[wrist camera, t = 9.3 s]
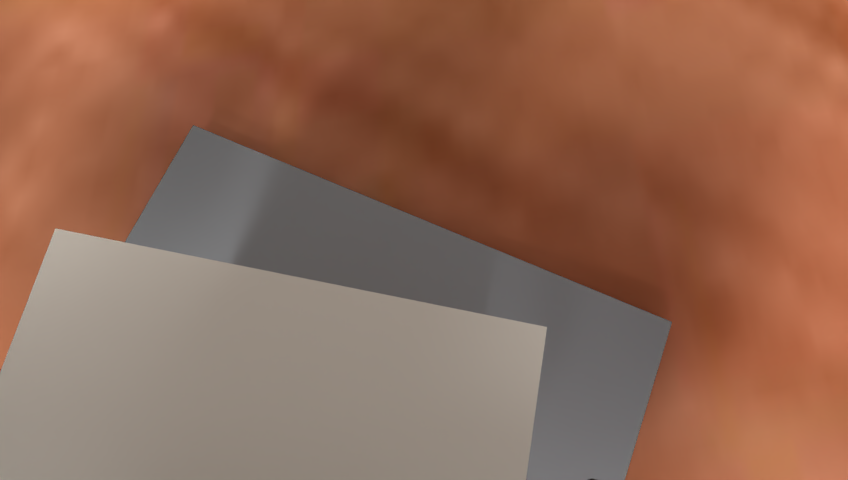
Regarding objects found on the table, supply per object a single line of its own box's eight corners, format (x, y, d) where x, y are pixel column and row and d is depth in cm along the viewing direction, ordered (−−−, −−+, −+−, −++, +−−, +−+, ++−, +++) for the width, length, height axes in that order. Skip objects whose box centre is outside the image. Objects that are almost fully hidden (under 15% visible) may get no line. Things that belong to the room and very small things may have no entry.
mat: (661, 324, 16) (672, 322, 15) (474, 942, 12) (478, 968, 12) (200, 134, 17) (193, 125, 16) (-100, 653, 13) (-123, 665, 13)
